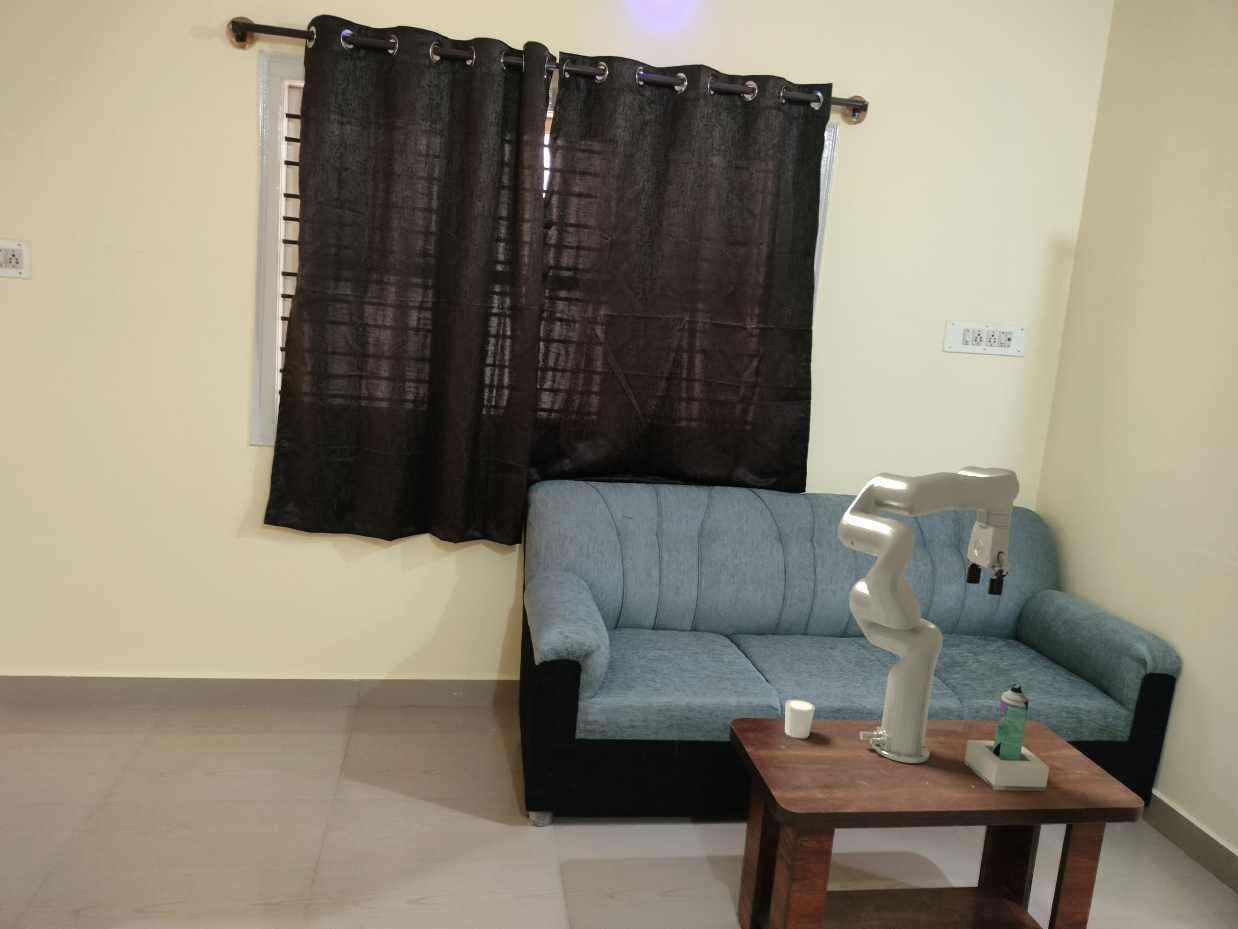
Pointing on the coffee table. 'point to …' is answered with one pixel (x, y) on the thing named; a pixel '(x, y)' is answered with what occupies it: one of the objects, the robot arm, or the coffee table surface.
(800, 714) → the white cup
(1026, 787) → the can holder
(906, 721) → the robot arm
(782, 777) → the coffee table surface
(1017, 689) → the spray can
